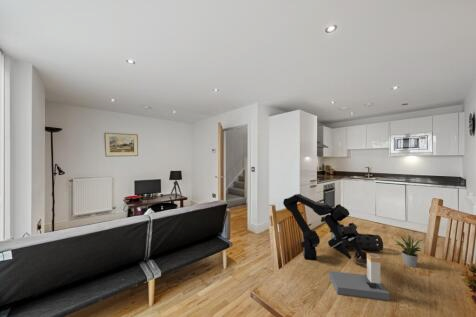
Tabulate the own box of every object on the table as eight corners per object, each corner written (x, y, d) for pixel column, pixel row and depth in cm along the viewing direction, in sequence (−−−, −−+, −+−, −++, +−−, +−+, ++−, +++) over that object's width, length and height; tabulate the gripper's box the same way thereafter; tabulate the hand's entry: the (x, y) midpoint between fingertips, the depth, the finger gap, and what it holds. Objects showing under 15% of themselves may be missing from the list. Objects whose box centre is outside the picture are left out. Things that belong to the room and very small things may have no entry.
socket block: (337, 294, 81) (337, 287, 81) (329, 276, 92) (329, 270, 92) (389, 300, 77) (389, 293, 77) (373, 281, 89) (373, 275, 89)
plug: (371, 282, 80) (370, 257, 80) (366, 277, 84) (366, 253, 84) (380, 283, 79) (380, 258, 80) (375, 278, 83) (375, 253, 83)
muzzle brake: (383, 254, 115) (383, 238, 115) (334, 250, 120) (334, 234, 120) (375, 247, 124) (375, 232, 124) (330, 243, 130) (330, 229, 130)
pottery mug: (378, 267, 101) (375, 257, 99) (363, 275, 101) (359, 265, 99) (361, 251, 113) (358, 241, 111) (347, 258, 113) (344, 249, 110)
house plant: (414, 258, 110) (414, 230, 110) (437, 272, 96) (437, 241, 97) (388, 257, 112) (388, 229, 112) (407, 270, 98) (407, 239, 98)
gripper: (333, 220, 88) (358, 254, 78) (355, 215, 97) (379, 244, 88) (319, 231, 95) (340, 263, 85) (340, 225, 104) (361, 253, 94)
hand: (356, 256), depth 88 cm, fingers open, 9 cm apart
